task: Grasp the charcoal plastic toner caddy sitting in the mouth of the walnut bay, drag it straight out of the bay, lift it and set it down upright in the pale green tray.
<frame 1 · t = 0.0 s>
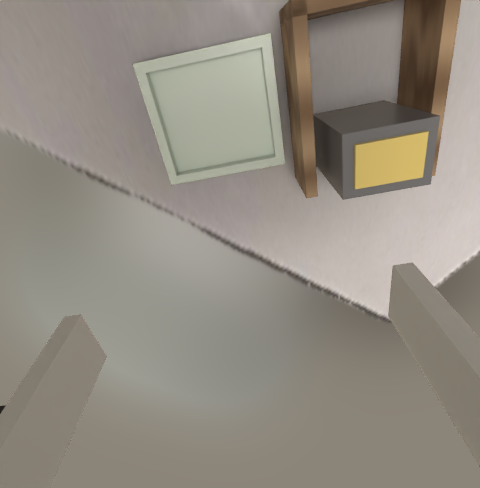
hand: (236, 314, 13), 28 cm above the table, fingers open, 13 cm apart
bay: (348, 107, 35), on the table
tray: (215, 115, 35), on the table
caddy: (348, 134, 36), on the table
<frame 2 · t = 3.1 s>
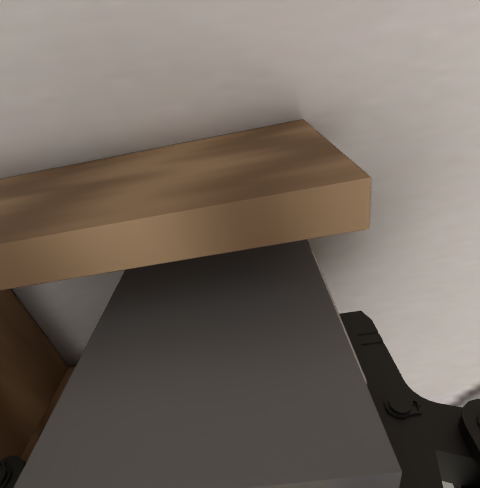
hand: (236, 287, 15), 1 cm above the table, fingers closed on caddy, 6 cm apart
bay: (180, 278, 16), on the table
caddy: (236, 269, 16), on the table, touching gripper
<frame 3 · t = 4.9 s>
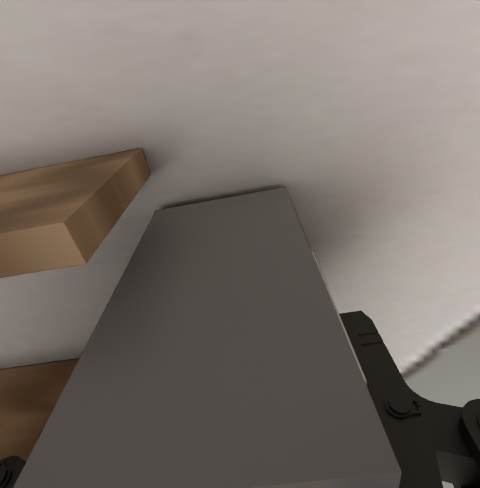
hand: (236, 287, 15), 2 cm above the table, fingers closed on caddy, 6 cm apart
bay: (63, 290, 17), on the table
caddy: (236, 269, 16), point 1 cm above the table, touching gripper
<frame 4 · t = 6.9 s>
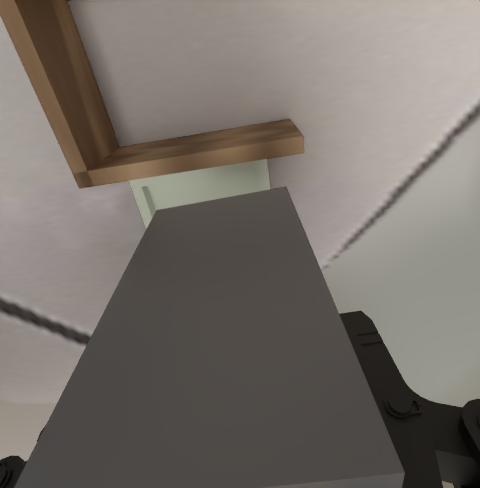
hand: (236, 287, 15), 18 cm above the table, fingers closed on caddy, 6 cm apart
bay: (199, 62, 25), on the table
tray: (212, 225, 33), on the table
caddy: (236, 269, 16), point 16 cm above the table, touching gripper
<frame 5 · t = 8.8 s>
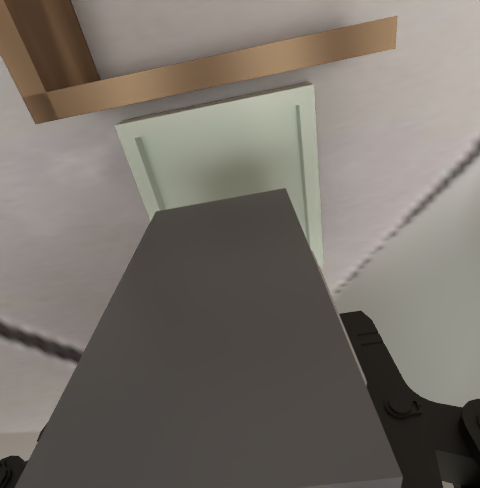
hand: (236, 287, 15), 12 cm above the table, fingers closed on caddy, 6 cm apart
tray: (232, 196, 25), on the table
caddy: (236, 270, 16), point 10 cm above the table, touching gripper
when the fingers open (4 cm above the table, at t = 10.5 s): caddy drops 2 cm, resting on tray.
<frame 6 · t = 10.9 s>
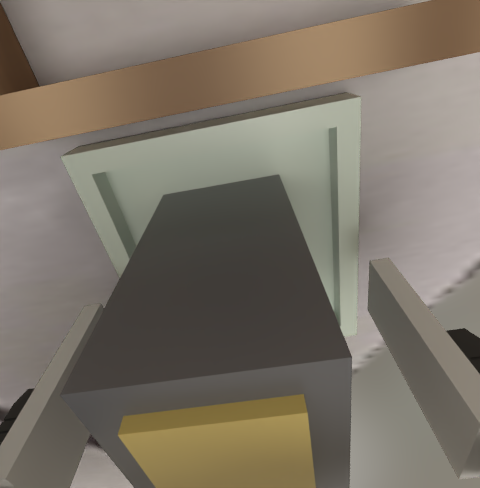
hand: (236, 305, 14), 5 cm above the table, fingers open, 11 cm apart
tray: (235, 245, 18), on the table
caddy: (234, 250, 18), resting on tray
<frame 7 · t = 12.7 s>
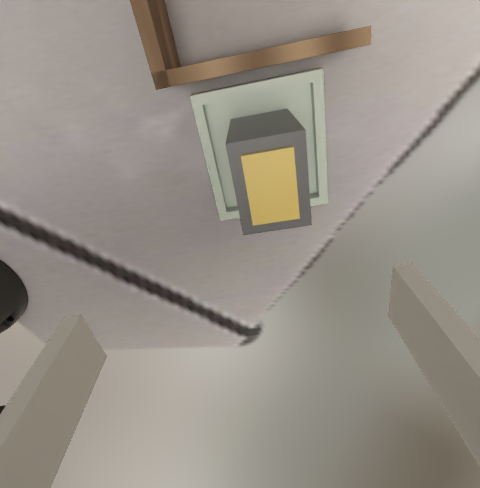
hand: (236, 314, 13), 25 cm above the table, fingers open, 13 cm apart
tray: (264, 150, 35), on the table
caddy: (263, 151, 34), resting on tray
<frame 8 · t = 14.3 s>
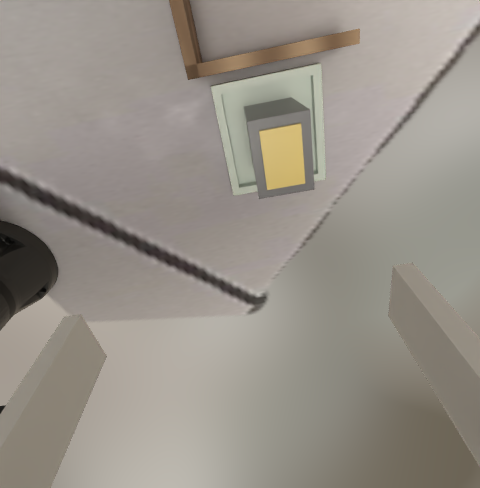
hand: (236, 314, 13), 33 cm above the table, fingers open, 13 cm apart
tray: (271, 133, 41), on the table
caddy: (271, 134, 40), resting on tray
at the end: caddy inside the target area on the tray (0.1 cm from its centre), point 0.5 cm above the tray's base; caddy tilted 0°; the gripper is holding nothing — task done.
